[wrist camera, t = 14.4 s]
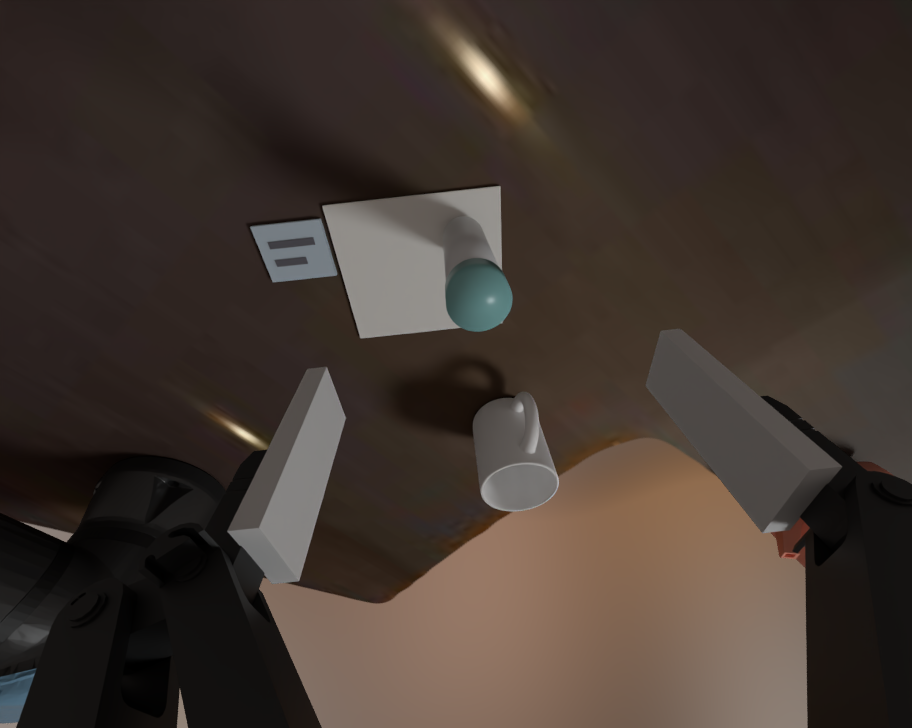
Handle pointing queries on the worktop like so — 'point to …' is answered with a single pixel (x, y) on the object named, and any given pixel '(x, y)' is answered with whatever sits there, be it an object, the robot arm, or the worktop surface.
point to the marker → (473, 278)
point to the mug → (513, 455)
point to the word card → (295, 250)
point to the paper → (404, 255)
